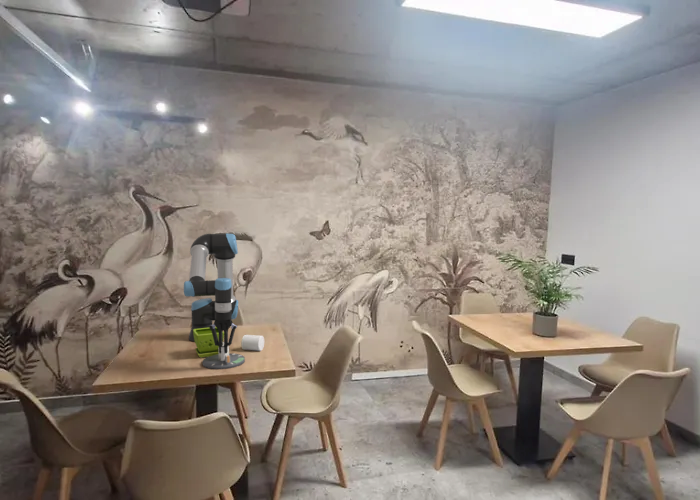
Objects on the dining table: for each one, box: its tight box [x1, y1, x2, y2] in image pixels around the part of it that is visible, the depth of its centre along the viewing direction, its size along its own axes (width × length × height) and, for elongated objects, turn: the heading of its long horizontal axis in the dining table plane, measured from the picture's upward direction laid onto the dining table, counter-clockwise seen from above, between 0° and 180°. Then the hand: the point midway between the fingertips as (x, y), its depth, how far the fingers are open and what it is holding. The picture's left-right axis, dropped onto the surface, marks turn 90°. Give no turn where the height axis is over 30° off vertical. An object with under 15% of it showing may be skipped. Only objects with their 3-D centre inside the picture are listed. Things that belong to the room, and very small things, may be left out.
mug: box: [240, 334, 265, 352], centre depth 241 cm, size 12×10×8 cm
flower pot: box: [193, 326, 224, 359], centre depth 231 cm, size 14×14×13 cm
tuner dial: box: [202, 352, 246, 370], centre depth 217 cm, size 20×20×2 cm
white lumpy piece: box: [218, 341, 230, 363], centre depth 214 cm, size 12×5×8 cm, turn 29°
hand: (223, 359), depth 210 cm, fingers closed
